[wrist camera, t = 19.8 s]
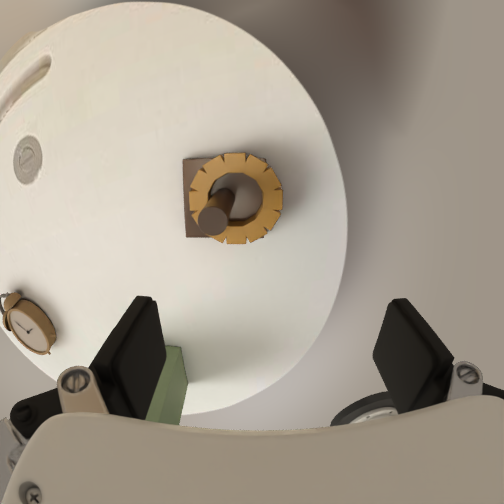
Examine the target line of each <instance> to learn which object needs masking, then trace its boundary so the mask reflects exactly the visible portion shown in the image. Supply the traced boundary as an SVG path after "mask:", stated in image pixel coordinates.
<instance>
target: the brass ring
mask: <svg viewBox="0 0 504 504" xmlns="http://www.w3.org/2000/svg"><path fill="white" fill-rule="evenodd" d="M267 166H268V164H267V163H266V162H264V161H262V160H260V159H259V158H257V157H255V156H253V155H252V154H250V155H249V156H248V158H247V160H246V153H225V154H224V157H223V155H219V156H217V157H215V158H214V159H212V160H210V161H209V162H207V163H206V164H204V165H203V168H201V169H199V170H198V172H197V174H196V176H195V178H194V180H193V182H192V184H191V186H190V187H191V188H193V189H192V190H190V191H189V202H190V211H194V213H193V214H192V217H193V218H194V220H195V221H196V223H197V224H198V222H197V219H198V215H199V213H200V212H201V210H202V209H203V208H204V206H205V205H206V204H207V202H208V201H209V200H210V198H211V189H212V187H213V185H214V183H215V181H216V180H217V179H218V178H220V177H222V176H223V175H225V174H227V173H244V174H246V175H248V176H249V177H251V178H253V179H255V180H256V181H257V183H258V185H259V187H260V188H261V190H262V205H261V206H260V208H259V210H258V211H257V213H256V215H254V216H252V217H250V218H249V219H247V220H245V221H228V224H227V227H226V229H225V231H224V232H222V233H221V234H219V235H216V236H210V235H208V236H210V237H212V238H214V239H216V240H217V241H219V242H221V243H223V241H224V240H225V238H226V239H227V244H246V238H248V240H249V242H250V243H251V242H253V241H255V240H257V239H258V238H260V237H262V236H264V235H266V234H267V229H269V230H271V229H272V228H273V226H274V225H275V223H276V221H277V220H278V218H279V217H280V215H281V213H280V211H279V210H282V203H283V190H282V189H281V187H280V186H282V185H281V183H280V182H279V180H278V178H277V176H276V175H275V173H274V171H273V169H272V168H271V167H268V168H267ZM266 228H267V229H266ZM206 235H207V234H206Z"/></svg>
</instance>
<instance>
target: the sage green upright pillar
mask: <svg viewBox="0 0 504 504" xmlns="http://www.w3.org/2000/svg"><path fill="white" fill-rule="evenodd" d="M165 348H166V353H167V357H166V361H165V364H164V367H163V370H162V373H161V375H160V378H159V381H158V384H157V387H156V389H155V392H154V395H153V398H152V401H151V404H150V407H149V410H148V413H147V416H146V419H145V420H146V421H152V422H158V423H164V424H172V425H179V423H180V418H181V413H182V409H183V404H184V400H185V395H186V391H187V386H188V382H187V377H186V373H185V368H184V363H183V358H182V353H181V348H180V347H173V346H165Z"/></svg>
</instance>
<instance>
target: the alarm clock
mask: <svg viewBox="0 0 504 504" xmlns="http://www.w3.org/2000/svg"><path fill="white" fill-rule="evenodd" d="M1 297H4V298H5V297H6V299H5V301H4V309H5V311H4V309H3V307H2V304H1ZM20 298H21V295H20V294H18V293H16V292H14V293H11V294H9V293H8V292H7V293H6V294H2V295H1V296H0V311H1V313H2V315H3V325H4V327H5V328H6V329H7V330H8V331H12V332H13V334H14V335H15V337H16V338H17V339H18V341H19V342H20V343H21V344H22V345H24V346H25V347H26V348H27V349H29V350H30V351H32V352H34V353H36V354H40V355H45V354H47V353H48V354H49V355H50V354H51V353H50V352H49V350H50V348H51V346H52V345H53V343H54V342H55V340H56V334H55V330H54V327H53V325H52V323H51V322H50V320H49V319H48V317H47V316H46V315H45V313H44V312H43V311H42V310H41V309H39V308H38V307H37V306H36V305H34V304H33V303H32V302H29V301H27V300H19V299H20ZM18 300H19V301H18ZM12 306H13V307H12ZM11 307H12V308H11Z"/></svg>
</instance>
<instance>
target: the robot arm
mask: <svg viewBox="0 0 504 504" xmlns="http://www.w3.org/2000/svg"><path fill="white" fill-rule="evenodd" d="M166 357H167V353H166V348H165V343H164V338H163V334H162V329H161V324H160V318H159V313H158V307H157V303H156V301H153V300H152V298H151V297H148V296H137V297H136V298H135V299H134V300H133V302H132V303H131V305H130V306H129V308H128V309H127V310H126V312H125V313H124V315H123V316H122V318H121V319H120V321H119V322H118V324H117V325H116V327H115V328H114V329H113V330H112V332H111V333H110V335H109V336H108V338H107V339H106V341H105V342H104V344H103V345H102V347H101V349H100V350H99V352H98V353H97V355H96V356H95V358H94V360H93V361H92V363H91V364H90V366H89V368H87V367H84V366H74V367H70V368H68V369H66V370H65V371H63V372H62V373H61V374H60V376H59V377H58V380H57V388H55V389H53V390H50V391H47V392H44V393H42V394H39V395H36V396H33V397H30V398H27V399H24V400H21V401H19V402H17V403H16V404H15V405H14V407H13V408H12V410H11V413H10V419H9V420H8V419H7V418H6V417H5V418H4V419H2V420H1V421H0V504H504V390H501V389H498V388H496V387H493V386H490V385H488V384H485V383H483V376H482V373H481V371H480V370H479V368H478V367H477V366H475V365H474V364H472V363H470V362H466V361H462V362H458V363H456V364H455V365H453V364H452V362H453V360H454V357H453V355H452V354H451V353H450V351H449V350H448V349H447V348H446V346H445V345H444V344H443V342H442V341H441V340H440V338H439V337H438V336H437V334H436V333H435V332H434V331H433V330H432V328H431V327H430V326H429V325H428V323H427V322H426V321H425V320H424V318H423V317H422V316H421V315H420V314H419V312H418V311H417V310H416V309H415V308H414V306H413V305H412V304H411V303H410V302H409V301H408V300H407V299H406V298H400V299H393V300H392V302H390V303H389V304H388V307H387V310H386V314H385V317H384V320H383V324H382V327H381V330H380V333H379V336H378V339H377V342H376V345H375V348H374V351H373V360H374V362H375V364H376V366H377V368H378V370H379V373H380V375H381V377H382V379H383V381H384V383H385V386H386V388H387V390H388V392H389V394H390V397H391V399H392V401H393V403H394V406H395V408H396V409H395V408H393V407H382V408H377V409H374V410H371V411H369V412H366V413H364V414H362V415H360V416H359V417H357V418H355V419H354V420H353V421H351V422H350V423H349V424H345V425H338V426H330V427H321V428H310V429H295V430H268V431H250V430H221V429H208V428H197V427H188V426H180V425H172V424H164V423H158V422H152V421H146V420H145V419H146V416H147V413H148V410H149V407H150V404H151V401H152V398H153V395H154V392H155V389H156V387H157V384H158V381H159V378H160V375H161V373H162V370H163V367H164V364H165V361H166Z"/></svg>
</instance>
